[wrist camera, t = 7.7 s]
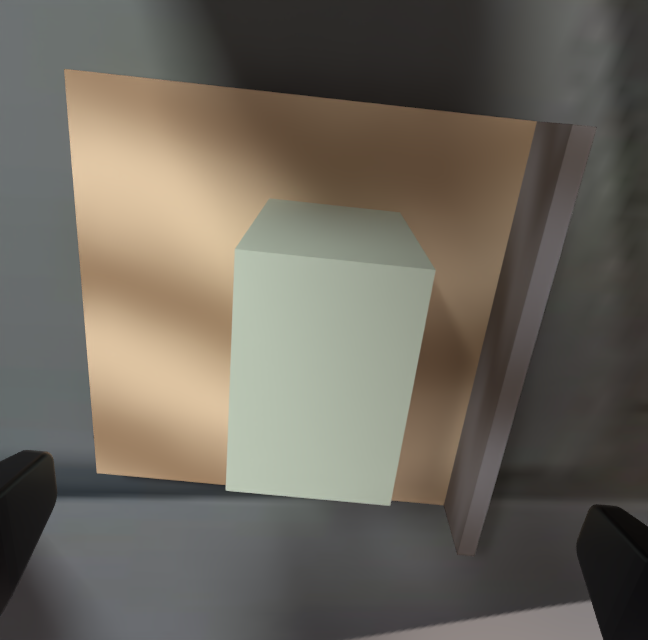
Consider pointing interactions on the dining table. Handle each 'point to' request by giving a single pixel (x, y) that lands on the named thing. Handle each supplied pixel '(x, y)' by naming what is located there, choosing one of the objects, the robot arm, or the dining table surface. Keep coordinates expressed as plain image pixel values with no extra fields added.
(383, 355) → the tea box
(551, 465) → the dining table surface
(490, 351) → the wooden platform
